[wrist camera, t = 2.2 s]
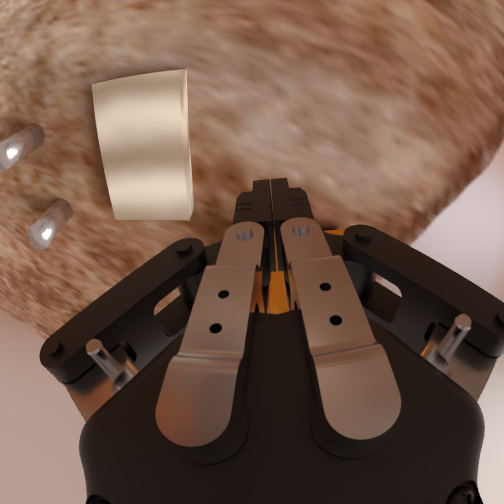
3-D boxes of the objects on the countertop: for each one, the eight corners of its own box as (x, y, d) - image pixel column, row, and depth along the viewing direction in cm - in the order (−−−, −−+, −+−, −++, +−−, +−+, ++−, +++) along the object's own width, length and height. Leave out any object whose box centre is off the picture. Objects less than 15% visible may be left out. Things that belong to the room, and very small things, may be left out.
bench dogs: (24, 128, 22) (-10, 149, 17) (39, 120, 22) (4, 139, 17) (59, 221, 30) (35, 250, 25) (75, 217, 30) (51, 248, 25)
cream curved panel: (107, 80, 20) (91, 84, 18) (187, 68, 20) (178, 69, 18) (126, 205, 29) (115, 219, 27) (195, 204, 29) (189, 220, 27)
